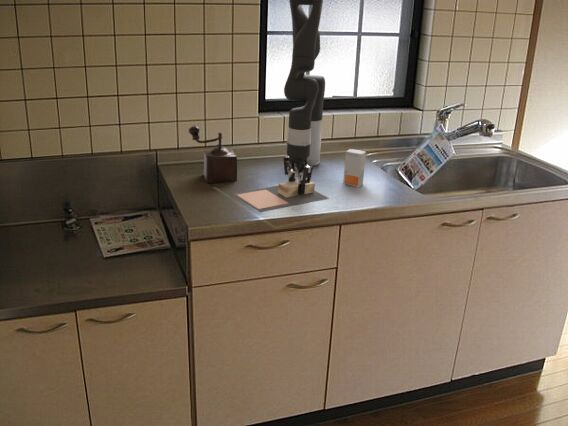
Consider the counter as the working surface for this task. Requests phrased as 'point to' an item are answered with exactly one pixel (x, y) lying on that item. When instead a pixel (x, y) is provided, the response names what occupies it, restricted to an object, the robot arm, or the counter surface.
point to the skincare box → (354, 167)
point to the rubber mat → (275, 198)
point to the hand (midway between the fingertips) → (296, 191)
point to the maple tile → (294, 188)
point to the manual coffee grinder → (217, 160)
